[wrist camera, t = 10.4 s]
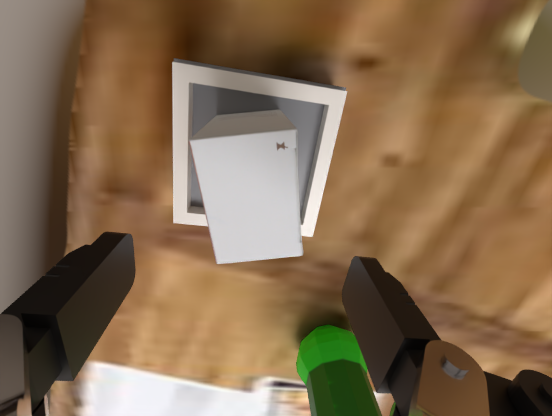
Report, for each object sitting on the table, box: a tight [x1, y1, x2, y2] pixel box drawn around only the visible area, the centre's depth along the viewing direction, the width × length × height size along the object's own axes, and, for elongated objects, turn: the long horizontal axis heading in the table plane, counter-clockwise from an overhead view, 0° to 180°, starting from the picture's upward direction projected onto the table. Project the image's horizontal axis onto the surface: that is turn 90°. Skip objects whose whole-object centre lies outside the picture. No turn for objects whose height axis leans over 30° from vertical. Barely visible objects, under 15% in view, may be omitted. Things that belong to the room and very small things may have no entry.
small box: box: [189, 109, 303, 264], centre depth 20 cm, size 8×6×10 cm
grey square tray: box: [172, 58, 347, 237], centre depth 25 cm, size 14×14×6 cm
